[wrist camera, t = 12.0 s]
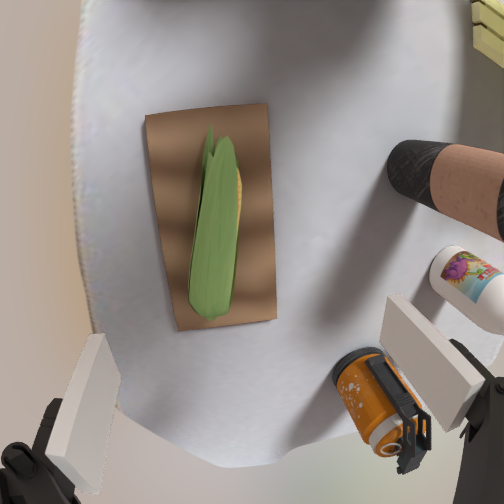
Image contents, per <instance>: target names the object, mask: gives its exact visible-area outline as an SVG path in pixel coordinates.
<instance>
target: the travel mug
mask: <svg viewBox="0 0 504 504" xmlns="http://www.w3.org/2000/svg"><path fill="white" fill-rule="evenodd" d="M387 169H388V177H389V180H390V182H391V184H392V186H393V187H394V188H395V189H396V191H398V192H399V193H401V194H403V195H405V196H407V197H409V198H411V199H413V200H415V201H417V202H419V203H421V204H424V205H426V206H428V207H430V208H432V209H434V210H436V211H438V212H440V213H442V214H444V215H446V216H448V217H451V218H453V219H455V220H458V221H460V222H462V223H464V224H466V225H469V226H471V227H473V228H475V229H477V230H479V231H481V232H483V233H485V234H488V235H490V236H492V237H494V238H496V239H498V240H500V241H502V242H504V154H503V153H498V152H494V151H489V150H485V149H480V148H475V147H470V146H465V145H460V144H452V143H443V142H433V141H422V140H406V141H403V142H401V143H399V144H398V145H396V147H395V148H394V149H393V150H392V152H391V154H390V156H389V160H388V167H387Z"/></svg>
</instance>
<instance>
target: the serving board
mask: <svg viewBox="0 0 504 504" xmlns="http://www.w3.org/2000/svg"><path fill="white" fill-rule="evenodd" d="M145 120H146V131H147V142H148V151H149V161H150V169H151V177H152V185H153V193H154V200H155V207H156V214H157V221H158V227H159V233H160V239H161V245H162V251H163V257H164V262H165V268H166V273H167V279H168V284H169V289H170V294H171V299H172V304H173V308H174V313H175V318H176V322H177V327H178V331H183V330H193V329H202V328H211V327H219V326H227V325H235V324H242V323H250V322H257V321H264V320H271V319H277V297H276V268H275V242H274V219H273V198H272V178H271V159H270V142H269V125H268V109H267V104H246V105H230V106H217V107H206V108H196V109H187V110H179V111H171V112H164V113H157V114H151V115H145ZM211 122H212V129H213V144H214V150H215V146H216V143H217V141H218V139H219V138H220V136H221V137H222V138H223V139H224V138H225V137H226V136H227V135H228V137H229V139H230V140H231V142H232V144H233V145H234V152H235V156H236V158H237V160H238V166H239V173H240V178H241V182H242V201H241V212H240V219H239V239H238V255H237V267H236V277H235V285H234V291H233V297H232V301H231V305H230V308H229V310H228V313H227V314H226V315H223V316H219V317H216V320H214V321H209V320H207V319H205V317H204V316H202V317H201V316H200V315H199V314H197V313H196V312H195V311H194V310H193V308H192V306H191V305H190V303H189V301H188V293H189V291H188V281H189V270H190V261H191V254H192V247H193V240H194V233H195V225H196V217H197V209H198V202H199V195H200V187H201V176H202V161H203V153H204V148H205V144H206V139H207V134H208V130H209V127H210V125H211Z"/></svg>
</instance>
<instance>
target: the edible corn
mask: <svg viewBox="0 0 504 504" xmlns="http://www.w3.org/2000/svg"><path fill="white" fill-rule="evenodd" d="M241 201H242V182H241V178H240V173H239V166H238V160H237V158H236V156H235V152H234V145H233V144H232V142H231V140H230V139H229V137H228V135H227V136H226V137H225V138H224V139H223V138H222V137H221V136H220V138H219V139H218V141H217V143H216V146H215V150H214V144H213V129H212V122H211V125H210V127H209V130H208V134H207V139H206V144H205V148H204V153H203V161H202V176H201V187H200V195H199V202H198V209H197V217H196V225H195V233H194V240H193V247H192V254H191V261H190V270H189V281H188V291H189V293H188V301H189V303H190V305H191V306H192V308H193V310H194V311H195V312H196V313H197V314H199V315H200V316H201V317H202V316H204V317H205V319H207V320H209V321H214V320H216V317H219V316H223V315H226V314H227V313H228V310H229V308H230V305H231V301H232V297H233V291H234V285H235V277H236V267H237V255H238V239H239V219H240V212H241Z"/></svg>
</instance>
